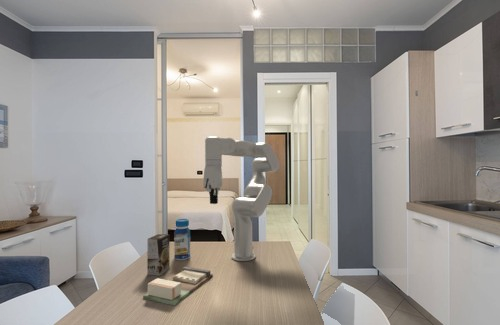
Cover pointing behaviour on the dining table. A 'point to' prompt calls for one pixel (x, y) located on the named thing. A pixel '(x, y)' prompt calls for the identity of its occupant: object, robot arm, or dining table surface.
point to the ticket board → (185, 284)
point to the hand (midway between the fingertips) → (213, 203)
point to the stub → (164, 288)
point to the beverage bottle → (182, 240)
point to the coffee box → (158, 254)
